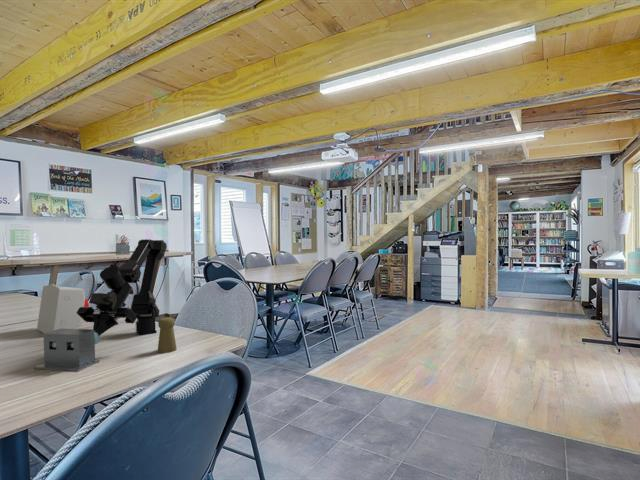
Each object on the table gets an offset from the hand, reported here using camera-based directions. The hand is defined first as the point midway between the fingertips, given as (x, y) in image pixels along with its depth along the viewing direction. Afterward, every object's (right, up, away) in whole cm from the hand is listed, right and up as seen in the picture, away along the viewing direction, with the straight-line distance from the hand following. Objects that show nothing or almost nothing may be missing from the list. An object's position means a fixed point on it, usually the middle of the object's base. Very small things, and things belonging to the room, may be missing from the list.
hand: (93, 337), depth 119 cm
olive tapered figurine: (+21, -6, +7) cm, 23 cm away
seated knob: (-7, -2, -3) cm, 8 cm away
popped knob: (-1, -2, -4) cm, 5 cm away
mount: (-4, -7, -5) cm, 9 cm away
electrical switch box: (-34, -7, +38) cm, 52 cm away
